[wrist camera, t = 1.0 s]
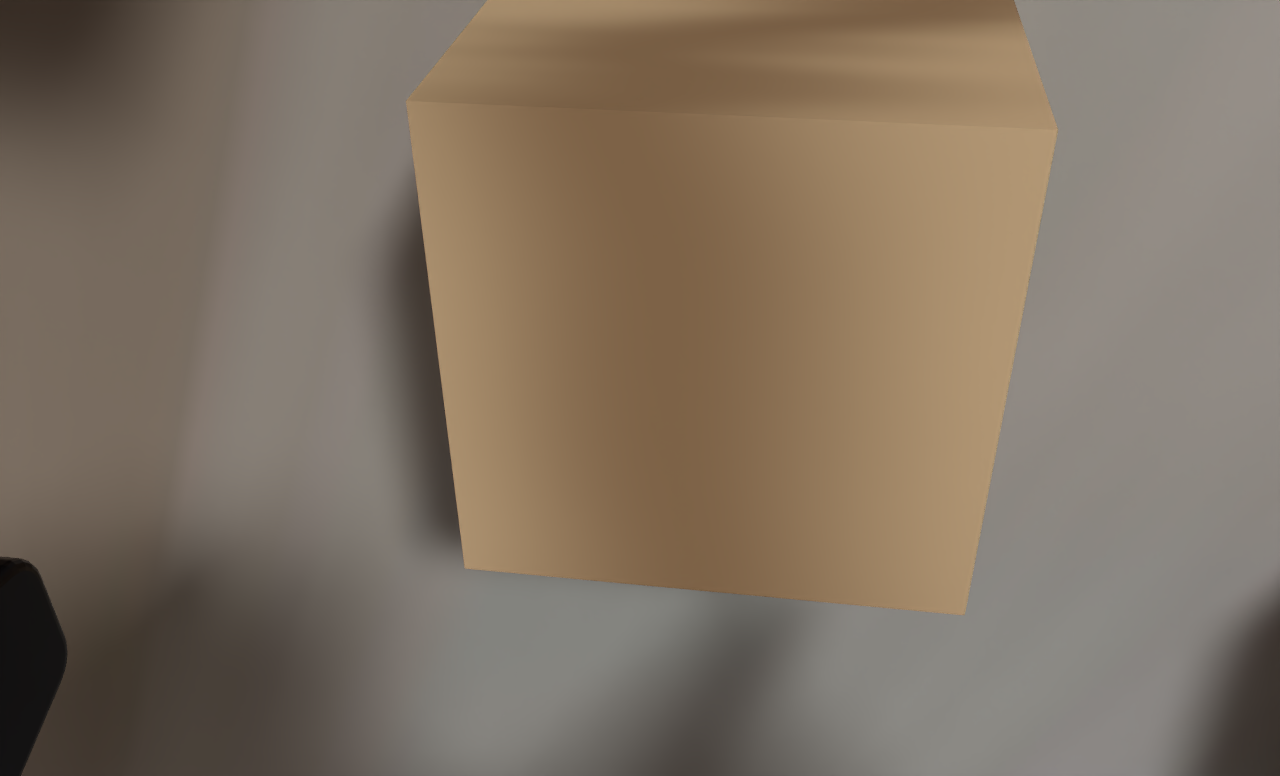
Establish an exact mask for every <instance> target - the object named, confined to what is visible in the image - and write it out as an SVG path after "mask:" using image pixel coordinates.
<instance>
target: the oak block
mask: <svg viewBox="0 0 1280 776" xmlns="http://www.w3.org/2000/svg"><path fill="white" fill-rule="evenodd" d="M406 104H407V112H408V120H409V128H410V136H411V144H412V152H413V160H414V168H415V176H416V184H417V192H418V200H419V208H420V216H421V224H422V232H423V240H424V248H425V256H426V264H427V272H428V280H429V287H430V295H431V303H432V311H433V319H434V327H435V335H436V343H437V351H438V359H439V367H440V375H441V383H442V391H443V399H444V407H445V415H446V423H447V431H448V439H449V447H450V455H451V462H452V470H453V478H454V486H455V494H456V502H457V510H458V518H459V526H460V534H461V542H462V550H463V558H464V566H465V569H476V570H487V571H497V572H508V573H519V574H530V575H540V576H551V577H562V578H572V579H583V580H594V581H604V582H615V583H626V584H636V585H647V586H658V587H668V588H679V589H690V590H700V591H711V592H722V593H732V594H743V595H754V596H764V597H775V598H786V599H796V600H807V601H818V602H828V603H839V604H850V605H860V606H871V607H882V608H892V609H903V610H914V611H925V612H935V613H946V614H957V615H965V610H966V605H967V600H968V595H969V590H970V584H971V579H972V574H973V569H974V564H975V559H976V553H977V548H978V543H979V538H980V533H981V527H982V522H983V517H984V512H985V507H986V501H987V496H988V491H989V486H990V481H991V475H992V470H993V465H994V460H995V455H996V450H997V444H998V439H999V434H1000V429H1001V424H1002V418H1003V413H1004V408H1005V403H1006V398H1007V392H1008V387H1009V382H1010V377H1011V372H1012V367H1013V361H1014V356H1015V351H1016V346H1017V341H1018V335H1019V330H1020V325H1021V320H1022V315H1023V309H1024V304H1025V299H1026V294H1027V289H1028V283H1029V278H1030V273H1031V268H1032V263H1033V258H1034V252H1035V247H1036V242H1037V237H1038V232H1039V226H1040V221H1041V216H1042V211H1043V206H1044V200H1045V195H1046V190H1047V185H1048V180H1049V174H1050V169H1051V164H1052V159H1053V154H1054V149H1055V143H1056V138H1057V133H1058V128H1057V125H1056V122H1055V120H1054V117H1053V114H1052V111H1051V108H1050V105H1049V102H1048V99H1047V96H1046V93H1045V90H1044V87H1043V84H1042V81H1041V78H1040V76H1039V73H1038V70H1037V67H1036V64H1035V61H1034V58H1033V55H1032V52H1031V49H1030V46H1029V43H1028V40H1027V37H1026V34H1025V32H1024V29H1023V26H1022V23H1021V20H1020V17H1019V14H1018V11H1017V8H1016V5H1015V2H1014V0H487V2H486V3H485V4H484V5H483V7H482V8H481V9H480V10H479V11H478V13H477V14H476V15H475V16H474V18H473V19H472V20H471V21H470V23H469V24H468V25H467V26H466V28H465V29H464V30H463V31H462V32H461V34H460V35H459V36H458V37H457V39H456V40H455V41H454V42H453V44H452V45H451V46H450V47H449V49H448V50H447V51H446V52H445V53H444V55H443V56H442V57H441V58H440V60H439V61H438V62H437V63H436V65H435V66H434V67H433V68H432V70H431V71H430V72H429V73H428V75H427V76H426V77H425V78H424V79H423V81H422V82H421V83H420V84H419V86H418V87H417V88H416V89H415V91H414V92H413V93H412V94H411V96H410V97H409V98H408V99H407V100H406Z"/></svg>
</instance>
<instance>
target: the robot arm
mask: <svg viewBox="0 0 1280 776" xmlns="http://www.w3.org/2000/svg"><path fill="white" fill-rule="evenodd" d="M66 663H67V644H66V639H65V636H64V633H63V631H62V628H61V626H60V623H59V621H58V618H57V616H56V613H55V611H54V608H53V606H52V603H51V600H50V598H49V595H48V593H47V590H46V588H45V585H44V583H43V580H42V578H41V575H40V573H39V572H38V570H37V568H36V567H35V566H33V565H32V564H31V563H30V562H29V561H26V560H24V559H20V558H10V557H0V776H21V774H22V772H23V769H24V767H25V765H26V762H27V760H28V758H29V755H30V753H31V751H32V748H33V746H34V744H35V741H36V739H37V737H38V734H39V732H40V730H41V727H42V725H43V723H44V720H45V718H46V716H47V713H48V711H49V709H50V706H51V704H52V701H53V699H54V697H55V694H56V692H57V690H58V687H59V685H60V683H61V680H62V678H63V675H64V671H65V667H66Z"/></svg>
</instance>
